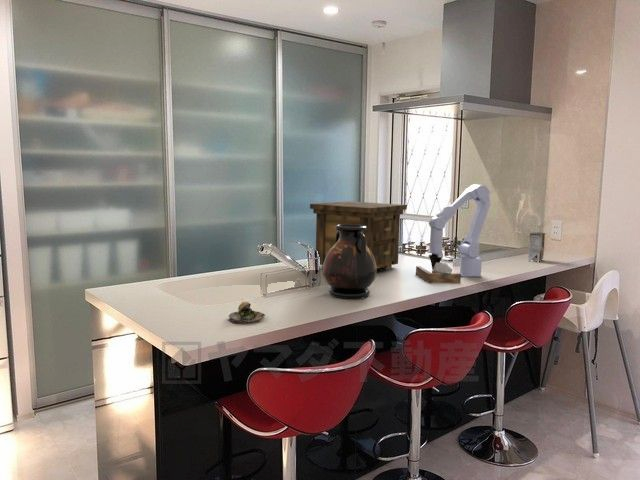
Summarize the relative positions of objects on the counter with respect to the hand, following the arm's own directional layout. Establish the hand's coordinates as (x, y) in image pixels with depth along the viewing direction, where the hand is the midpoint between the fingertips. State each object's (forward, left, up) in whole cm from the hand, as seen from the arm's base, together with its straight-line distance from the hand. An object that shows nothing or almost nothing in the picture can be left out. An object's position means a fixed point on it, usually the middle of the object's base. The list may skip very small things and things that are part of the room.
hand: (434, 269), depth 253 cm
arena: (+1, +5, -3) cm, 6 cm away
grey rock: (-1, +8, -3) cm, 8 cm away
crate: (+34, -20, -3) cm, 40 cm away
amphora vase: (+48, +37, -3) cm, 61 cm away
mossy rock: (+88, +70, -3) cm, 112 cm away
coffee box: (-74, -41, -3) cm, 85 cm away
